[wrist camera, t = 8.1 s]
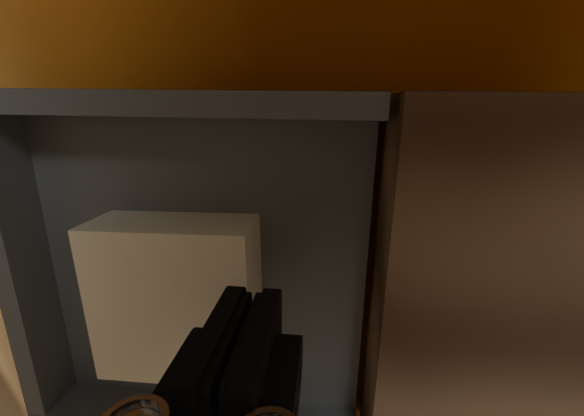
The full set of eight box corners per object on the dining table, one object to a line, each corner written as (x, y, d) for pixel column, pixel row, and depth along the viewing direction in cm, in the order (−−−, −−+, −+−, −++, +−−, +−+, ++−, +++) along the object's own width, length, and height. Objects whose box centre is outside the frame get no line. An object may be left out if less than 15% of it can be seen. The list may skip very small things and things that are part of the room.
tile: (244, 236, 11) (259, 213, 13) (67, 230, 11) (111, 210, 14) (252, 391, 12) (264, 346, 15) (97, 378, 13) (132, 338, 15)
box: (12, 91, 13) (-57, 87, 11) (378, 94, 12) (390, 91, 10) (72, 384, 17) (31, 428, 15) (353, 411, 16) (357, 465, 14)
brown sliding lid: (387, 94, 12) (405, 90, 9) (776, 98, 11) (937, 95, 8) (359, 412, 16) (366, 479, 13) (642, 440, 15) (717, 520, 12)
